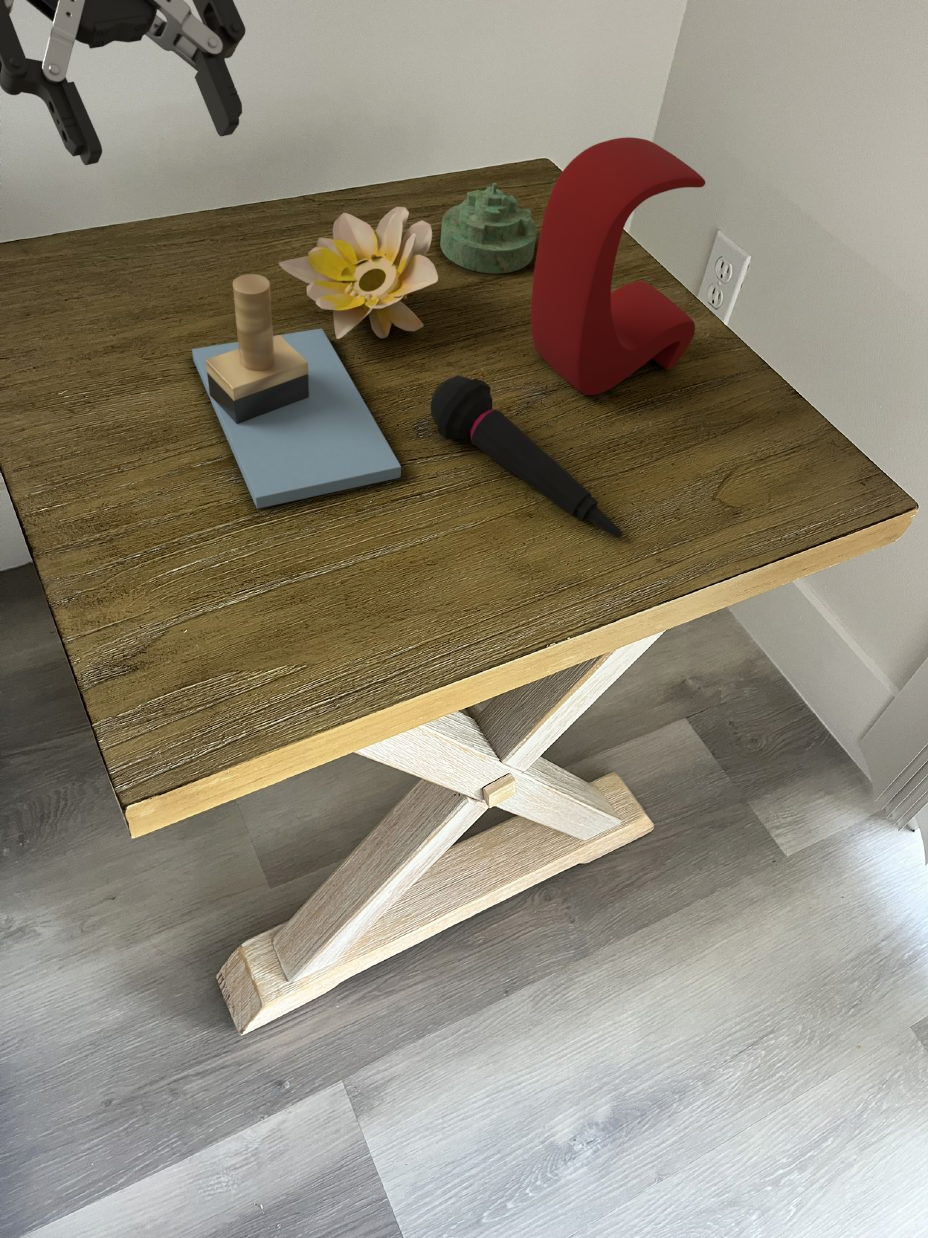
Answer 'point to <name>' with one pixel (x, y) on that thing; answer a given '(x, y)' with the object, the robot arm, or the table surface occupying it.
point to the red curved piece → (604, 269)
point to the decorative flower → (368, 271)
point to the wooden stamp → (256, 359)
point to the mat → (307, 432)
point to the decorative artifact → (488, 233)
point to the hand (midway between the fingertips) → (164, 144)
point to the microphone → (510, 446)
